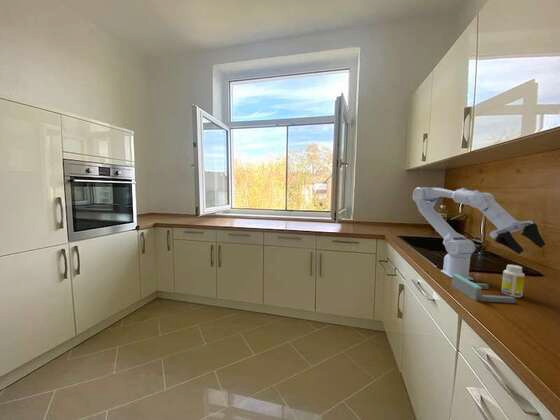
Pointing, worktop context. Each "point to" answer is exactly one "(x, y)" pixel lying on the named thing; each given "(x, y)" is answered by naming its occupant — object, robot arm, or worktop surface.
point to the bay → (477, 290)
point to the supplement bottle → (513, 281)
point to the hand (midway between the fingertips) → (532, 249)
